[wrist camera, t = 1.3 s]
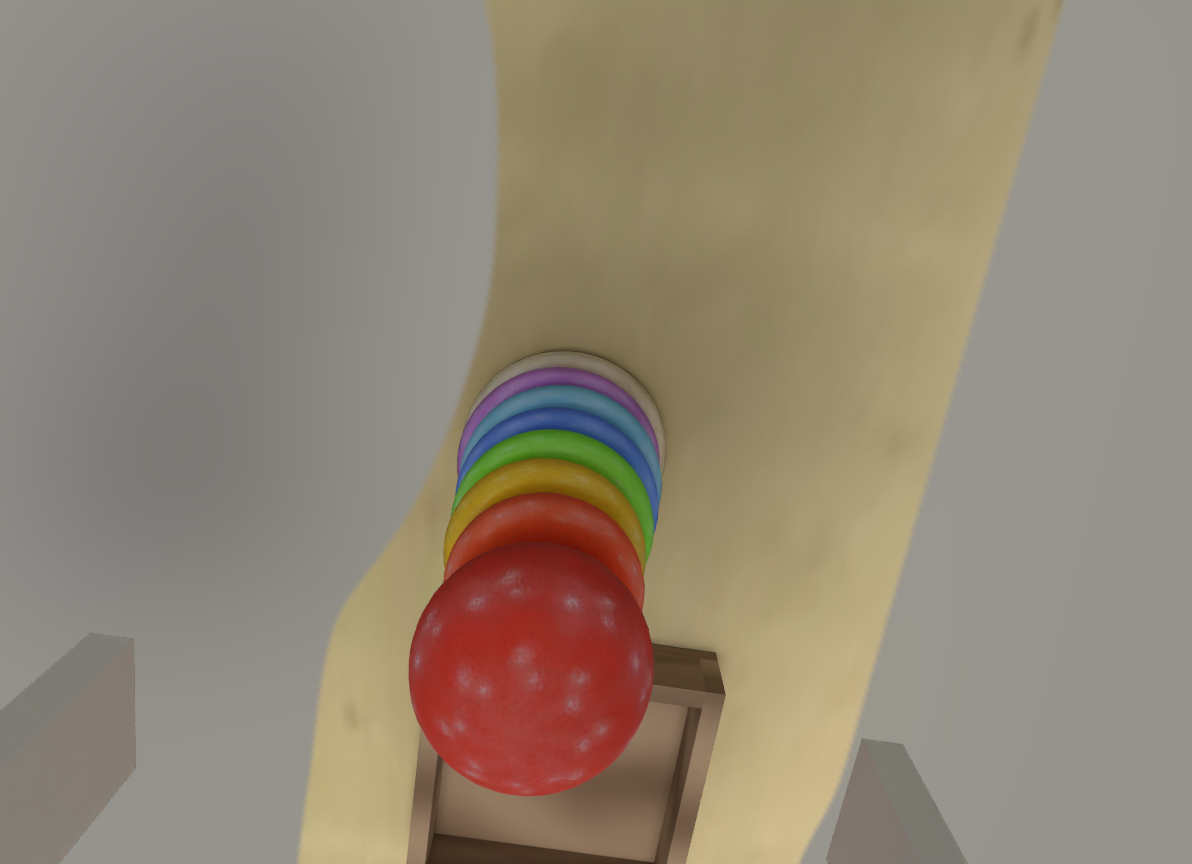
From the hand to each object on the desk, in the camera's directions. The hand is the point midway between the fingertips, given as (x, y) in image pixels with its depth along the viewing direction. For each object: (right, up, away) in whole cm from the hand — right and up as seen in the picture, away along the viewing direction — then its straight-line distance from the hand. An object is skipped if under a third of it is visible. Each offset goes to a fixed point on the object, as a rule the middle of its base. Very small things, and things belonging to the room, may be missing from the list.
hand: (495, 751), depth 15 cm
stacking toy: (+1, +5, +18) cm, 19 cm away
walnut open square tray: (0, -9, +22) cm, 24 cm away
